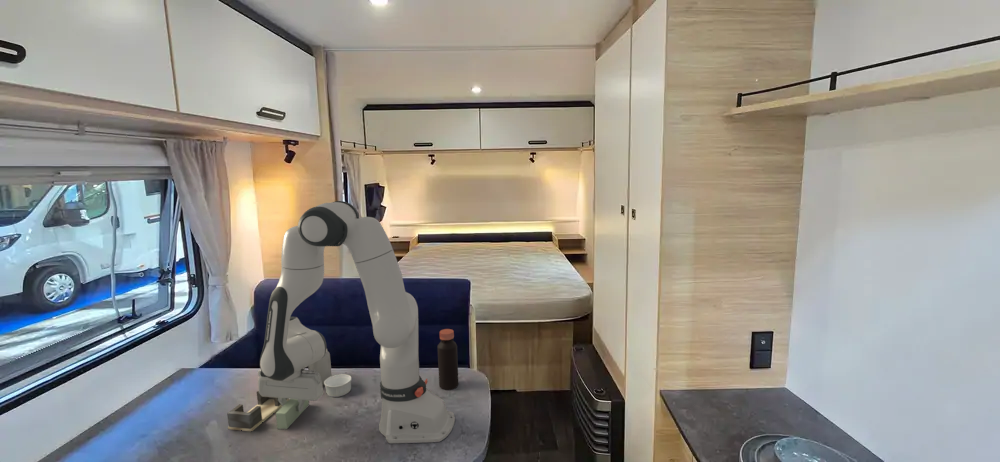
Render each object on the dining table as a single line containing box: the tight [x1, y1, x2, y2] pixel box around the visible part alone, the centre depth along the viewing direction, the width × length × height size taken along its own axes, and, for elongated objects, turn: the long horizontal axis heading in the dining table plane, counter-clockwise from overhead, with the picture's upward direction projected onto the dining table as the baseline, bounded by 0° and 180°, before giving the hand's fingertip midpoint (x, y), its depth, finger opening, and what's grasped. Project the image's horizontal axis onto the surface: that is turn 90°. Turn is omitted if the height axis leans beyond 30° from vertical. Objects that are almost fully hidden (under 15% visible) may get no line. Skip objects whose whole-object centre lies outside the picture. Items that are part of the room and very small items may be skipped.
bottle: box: [437, 328, 459, 391], centre depth 150 cm, size 7×7×20 cm
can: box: [307, 348, 333, 386], centre depth 156 cm, size 8×8×12 cm
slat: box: [275, 399, 310, 430], centre depth 135 cm, size 3×13×5 cm, turn 176°
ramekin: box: [323, 373, 352, 398], centre depth 150 cm, size 9×9×4 cm
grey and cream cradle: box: [226, 390, 290, 432], centre depth 136 cm, size 8×17×5 cm, turn 170°
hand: (293, 409), depth 135 cm, fingers closed on slat, 3 cm apart
